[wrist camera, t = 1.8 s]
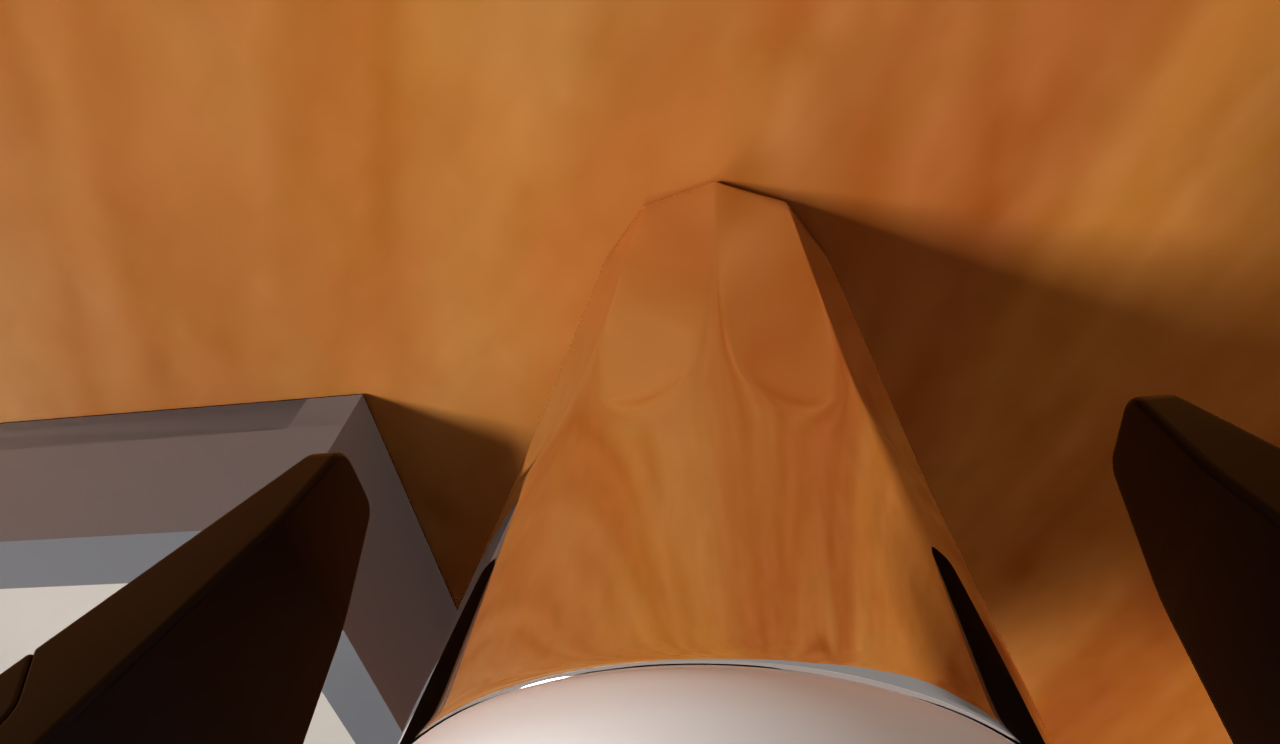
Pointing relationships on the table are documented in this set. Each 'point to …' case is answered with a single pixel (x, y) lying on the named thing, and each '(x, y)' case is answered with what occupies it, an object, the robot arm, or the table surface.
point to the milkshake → (721, 525)
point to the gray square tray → (190, 502)
